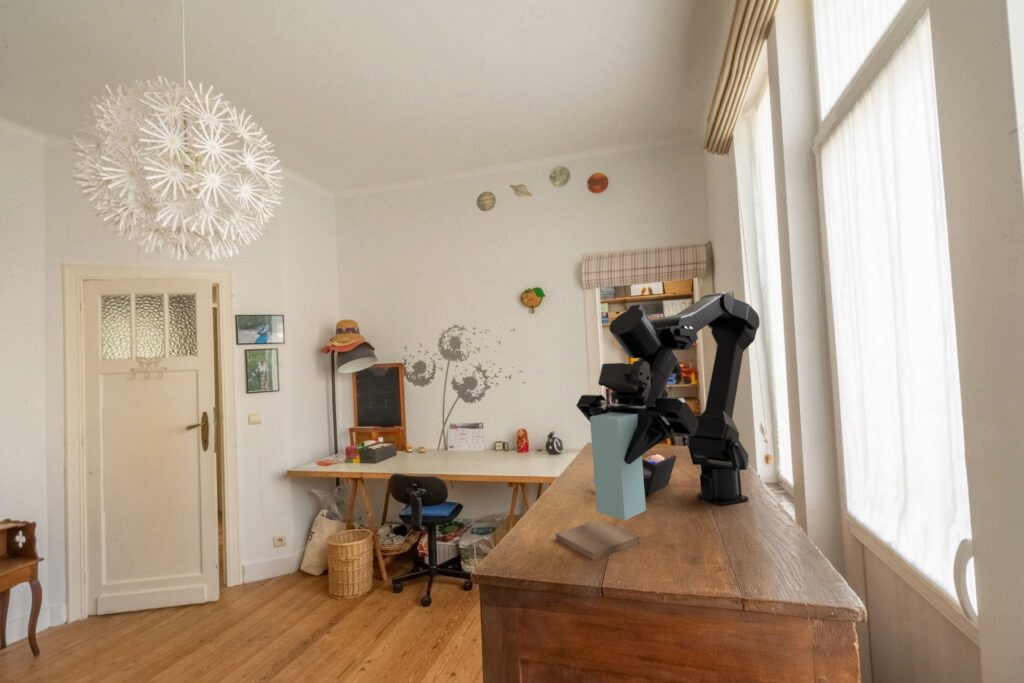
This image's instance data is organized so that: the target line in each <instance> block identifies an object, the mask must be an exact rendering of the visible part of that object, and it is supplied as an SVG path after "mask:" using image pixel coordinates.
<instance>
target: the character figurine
mask: <svg viewBox="0 0 1024 683" xmlns="http://www.w3.org/2000/svg"><path fill="white" fill-rule="evenodd" d="M676 459H677V456H676V455H675V454H673V455H671V456H669V457H664V456H663V455H662V454H657V453H654V454H651V455H649V456H647V458H646V459H643V458H642V465H643V478H644V492H645V497H650V496H651V495H653V494H655V493H656V492H659V491H660V490H661V489H663V488H665V487H667V486H668V485H669V484H670V480H671V477H672V472H673V469H674V466H675V463H676Z"/></svg>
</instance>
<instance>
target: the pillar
mask: <svg viewBox="0 0 1024 683" xmlns="http://www.w3.org/2000/svg"><path fill="white" fill-rule="evenodd" d="M589 422H590V435H591V437H590V438H591V448H592V463H593V478H594V479H595V482H594V491H595V503H596V513H599V514H602V515H605V516H609V517H612V518H615V519H619V520H623V521H627V520H629V519H631V518H633V517H636V516H637V515H639V514H641V513H644V512H646V510H647V507H646V506H647V505H646V495H645V492H644V478H643V465H642V459H643V455H641V456H640V457H639V458H638V459H636V460H635V461H634V462H632V463H631V464H627V463H626V462H625V461H624V458H625V455H626V452H627V449H628V447H629V444H630V442H631V440H632V437H633V435H634V433H635V430H636V428H637V425H638V414H627V413H612V412H611V413H606V414H601V415H597V416H592V417H590V421H589Z"/></svg>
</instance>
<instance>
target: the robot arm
mask: <svg viewBox="0 0 1024 683" xmlns="http://www.w3.org/2000/svg"><path fill="white" fill-rule="evenodd" d="M760 321H761V320H760V317H759V314H758V312H757V311H756V310H755V309H754V308H753V307H752V306H751V305H750V304H749V303H747V302H744V301H741V300H739V299H736V298H734V297H733V295H732V294H730V293H729V292H717V293H716V292H715V293H710V294H705V295H703V296H702V297H700V298H699V300H697V301H696V302H694V303H692V304H691V305H689V306H687V307H686V308H684V309H682V310H681V311H679V312H678V313H676V314H673V315H667V316H664V317H663V316H662V317H659V318H655V319H650V318H649V316H648V315H647V313H646V310H645V308H644V307H643V306H642V304H637V305H636V304H635V305H630V306H629V308H628V309H627V310H626V311H624V312H622V313H620V314H619V315H618V316H617V317H616V318H614V319H612V321H611V322H610V325H609V332H610V333H611V335H612V336H613V337H614V339H615V340H616V341H617V343H618V345H619V346H620V347H621V349H622V350H623V351H624V352H625V354H626V355H627V356H628V357H629V358H631V359H637V360H634V361H633V362H632V363H624V362H615V363H614V362H611V363H603V364H602V365H601V370H600V373H599V379H598V381H597V382H598V385H599V386H601V387H602V386H603V387H605V388H607V389H609V390H611V393H610V396H611V397H612V399H613V400H617V403H611V402H609V401H608V400H607V399H606V398H605V397H604V396H603V394H582V395H581V396H580V397H579V399H578V401H577V404H576V408H577V409H579V411H580V412H581V413H582V414H583V415H584V417H585V418H586V419H587V421H589V422H590V417H592V416H597V415H601V414H606V413H611V412H612V413H627V414H638V425H637V428H636V430H635V433H634V435H633V437H632V440H631V442H630V444H629V447H628V449H627V452H626V455H625V458H624V461H625V462H626V463H627V464H631V463H632V462H634V461H635V460H636V459H638V458H639V457H640V456H641V455H642V456H643V455H644V454H645V453H647V452H648V451H650V450H651V449H652V448H654V447H655V446H657V445H659V444H660V443H662V442H664V441H665V440H667V439H672V438H673V436H674V434H675V435H677V436H685V437H687V448H688V451H689V455H690V458H691V463H692V465H694V466H700V474H699V480H700V483H699V484H700V492H697V497H700V498H701V499H705V500H708V501H710V502H712V503H714V504H717V505H719V506H725V505H729V504H731V505H732V504H735V503H740V502H746V501H749V497H748V496H746V495H743V493H742V481H741V471H746V470H748V466H749V453H748V452H747V450H746V449H745V447H744V446H743V444H742V442H740V432H739V430H738V428H737V426H736V423H735V422H734V419H733V415H734V408H735V404H736V403H735V402H736V397H737V391H738V386H739V378H740V375H741V374H740V372H741V367H742V361H743V355H744V351H746V349H748V347H749V346H750V345H751V344H752V343H754V341H755V339H756V336H757V331H758V329H759V328H760ZM706 326H707V327H708V328H709V329H710V330H711V332H710V333H711V335H712V338H713V339H714V341H715V343H716V351H715V356H714V360H713V366H712V370H711V372H712V373H711V378H710V381H709V386H708V393H707V399H706V402H705V407H704V408H705V409H704V411H703V412H702V413H701V414H700V415H697V414H695V413H694V411H693V410H692V409H691V407H690V405H689V404H688V402H687V401H686V400H685V399H684V397H671V396H670V397H669V393H668V391H667V390H666V387H667V385H668V382H669V380H670V379H671V376H672V375H677V374H679V375H680V374H682V367H681V364H680V363H679V361H678V357H676V355H675V354H674V352H675V351H676V352H678V351H679V352H680V351H681V352H682V351H688V350H690V349H691V348H692V346H693V345H694V344H695V343H696V341H697V340H698V339H699V336H698V332H700V330H702V329H703V328H705V327H706ZM672 431H673V433H674V434H673V433H672Z"/></svg>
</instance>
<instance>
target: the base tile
mask: <svg viewBox="0 0 1024 683" xmlns="http://www.w3.org/2000/svg"><path fill="white" fill-rule="evenodd" d="M555 539H556V541H559V542H560V543H562V544H564V545H566V546H567V547H569V548H571V549H572V550H575V551H577V552H578V553H580V554H582V555H584V556H585V557H588V559H589V558H590V559H592V560H593V561H595V560H598V559H600V558H603V557H606V556H608V555H610V554H614V553H617V552H619V551H621V550H624V549H628V548H631V547H633V546H635V545H638V544H640V536H639V535H636V534H634V533H632V532H629V531H627V530H624V529H622V528H620V527H617V526H615V525H612V524H610V523H608V522H605V521H603V520H601V519H598V520H594V521H592V522H588V523H585V524H581V525H578V526H575V527H572V528H568V529H566V530H563V531H559V532H556V533H555Z"/></svg>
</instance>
